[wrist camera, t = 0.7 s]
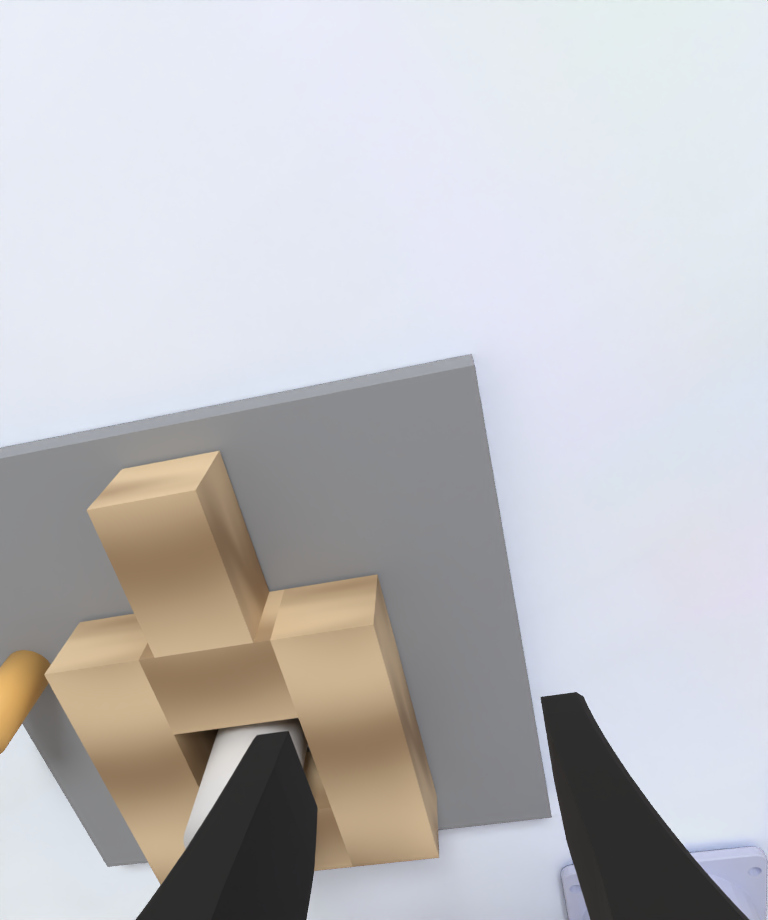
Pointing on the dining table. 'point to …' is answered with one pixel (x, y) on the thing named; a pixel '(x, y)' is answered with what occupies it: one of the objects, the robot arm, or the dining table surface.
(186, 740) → the wooden beam assembly
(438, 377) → the base plate
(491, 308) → the dining table surface
